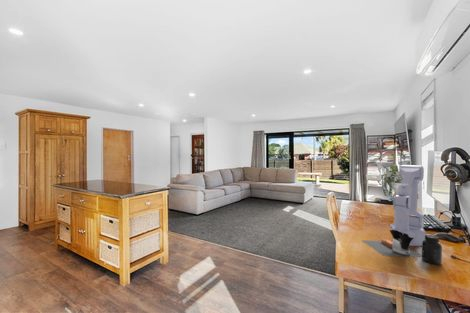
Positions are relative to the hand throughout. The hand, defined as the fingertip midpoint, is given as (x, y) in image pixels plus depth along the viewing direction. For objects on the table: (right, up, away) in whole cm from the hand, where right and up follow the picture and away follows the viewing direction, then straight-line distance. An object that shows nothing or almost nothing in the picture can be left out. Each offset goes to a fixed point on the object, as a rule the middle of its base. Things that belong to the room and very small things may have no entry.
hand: (401, 247), depth 109 cm
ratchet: (0, -3, +5) cm, 6 cm away
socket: (0, -1, 0) cm, 1 cm away
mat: (-1, -3, +6) cm, 7 cm away
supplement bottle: (+7, -4, -9) cm, 12 cm away
